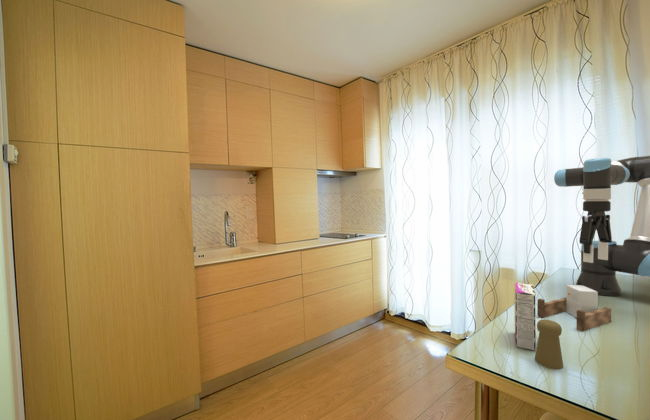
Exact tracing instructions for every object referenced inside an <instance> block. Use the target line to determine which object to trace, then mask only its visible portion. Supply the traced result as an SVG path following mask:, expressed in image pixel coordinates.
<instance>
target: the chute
mask: <svg viewBox="0 0 650 420" xmlns="http://www.w3.org/2000/svg"><path fill="white" fill-rule="evenodd" d="M545 301H546V300H545V299H543V298H537V304H536V305H537V310H536V311H537V314H536V315H537V316H538V318H540V317H541V318H540V319H543V318H548V317H550V316H553V315H559V314H561V313H565V312H566V297H565V296H564V297H561V298H559V299H553V300H550V301H546V302H545ZM608 323H612V308H609V307H607V306H606V307H602V308H600V309H598V310H595V311H592V312H589V313H585V311H582V310H577V318H576V331H578V332H584V331H588V330H591V329H593V328H596V327H597V328H598V327H599V326H603V325H605V324H608Z"/></svg>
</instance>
